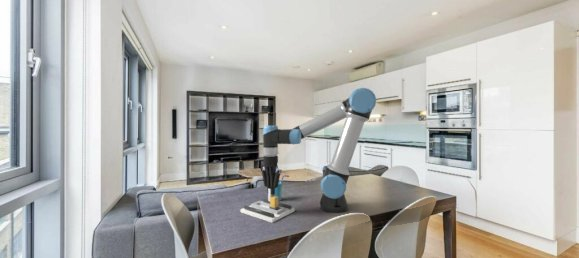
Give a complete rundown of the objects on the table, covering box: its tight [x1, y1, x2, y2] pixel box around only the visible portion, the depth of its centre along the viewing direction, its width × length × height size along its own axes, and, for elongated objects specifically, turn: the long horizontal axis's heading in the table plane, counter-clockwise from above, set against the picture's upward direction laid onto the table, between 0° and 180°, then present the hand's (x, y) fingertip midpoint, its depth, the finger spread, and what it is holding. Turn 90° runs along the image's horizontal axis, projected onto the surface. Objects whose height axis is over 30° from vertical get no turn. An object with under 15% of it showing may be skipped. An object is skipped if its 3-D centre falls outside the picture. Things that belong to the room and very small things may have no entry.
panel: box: [240, 198, 296, 223], centre depth 123 cm, size 22×18×3 cm
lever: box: [269, 196, 279, 210], centre depth 120 cm, size 4×3×7 cm
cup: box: [274, 174, 290, 202], centre depth 142 cm, size 14×8×15 cm, turn 104°
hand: (271, 200), depth 122 cm, fingers closed
